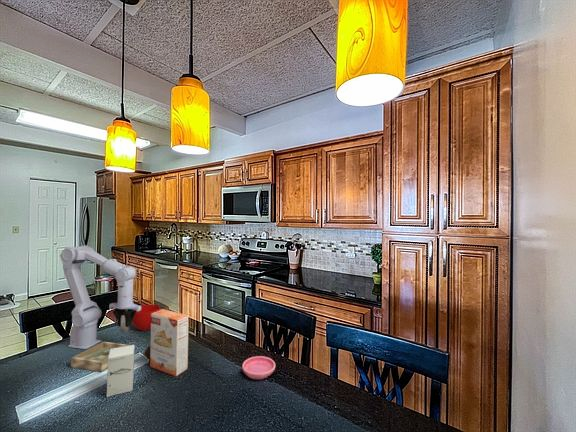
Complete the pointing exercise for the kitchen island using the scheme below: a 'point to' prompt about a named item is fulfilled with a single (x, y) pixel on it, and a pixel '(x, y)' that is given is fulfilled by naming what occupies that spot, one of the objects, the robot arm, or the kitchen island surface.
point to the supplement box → (120, 370)
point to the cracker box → (169, 342)
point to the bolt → (147, 352)
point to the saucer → (258, 367)
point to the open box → (94, 357)
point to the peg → (123, 324)
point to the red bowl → (144, 317)
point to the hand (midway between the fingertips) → (124, 325)
